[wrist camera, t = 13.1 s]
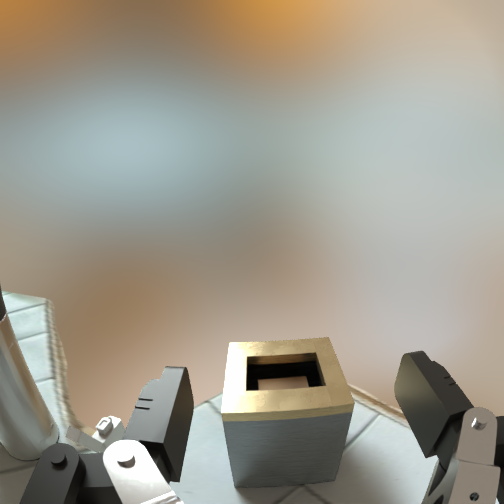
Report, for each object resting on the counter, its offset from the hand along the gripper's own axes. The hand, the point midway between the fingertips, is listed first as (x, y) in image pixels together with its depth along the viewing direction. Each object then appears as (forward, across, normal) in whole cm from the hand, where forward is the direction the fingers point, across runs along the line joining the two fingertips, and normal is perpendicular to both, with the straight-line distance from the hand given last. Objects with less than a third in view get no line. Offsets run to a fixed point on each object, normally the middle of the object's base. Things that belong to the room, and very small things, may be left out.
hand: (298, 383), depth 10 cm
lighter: (+10, +18, +22) cm, 30 cm away
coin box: (+12, -1, +22) cm, 25 cm away
